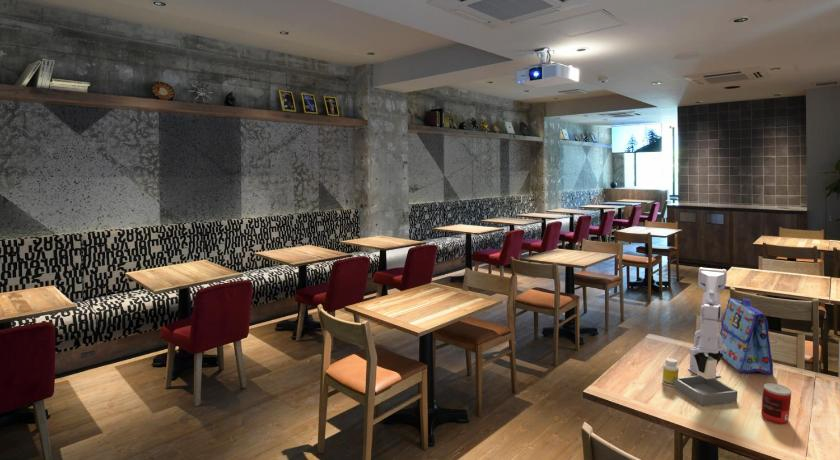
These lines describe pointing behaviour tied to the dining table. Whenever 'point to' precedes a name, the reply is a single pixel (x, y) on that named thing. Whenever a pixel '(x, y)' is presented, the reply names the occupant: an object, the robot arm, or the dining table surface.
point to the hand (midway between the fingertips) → (706, 370)
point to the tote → (705, 390)
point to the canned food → (776, 403)
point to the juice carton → (709, 368)
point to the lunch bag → (746, 338)
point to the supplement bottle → (670, 371)
